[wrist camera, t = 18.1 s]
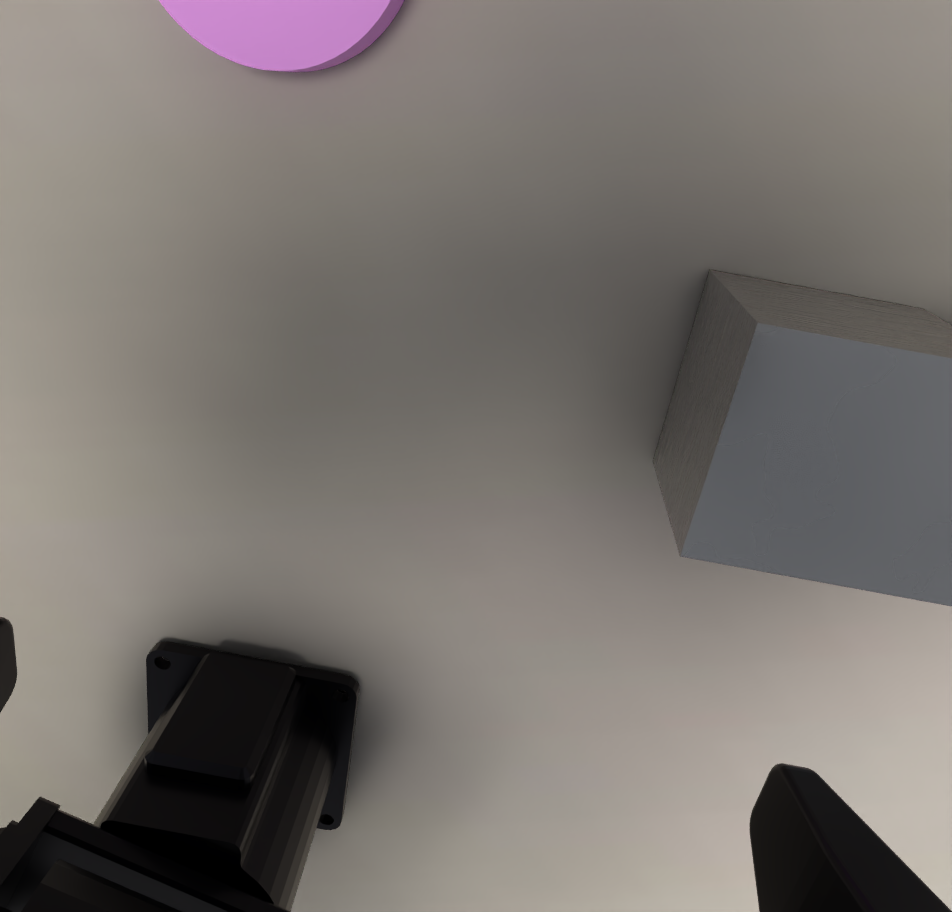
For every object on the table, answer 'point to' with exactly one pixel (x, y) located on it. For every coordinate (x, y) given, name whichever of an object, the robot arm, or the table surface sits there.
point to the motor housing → (813, 438)
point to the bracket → (285, 29)
